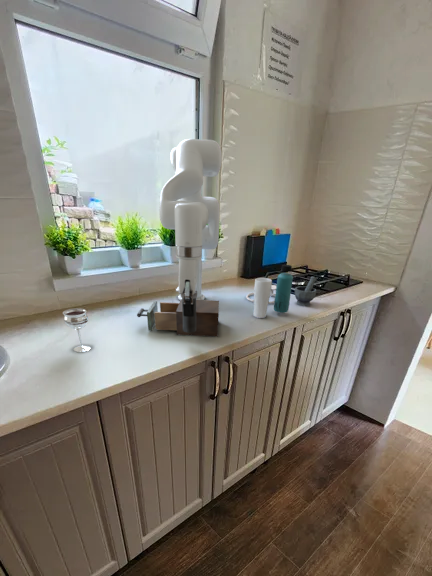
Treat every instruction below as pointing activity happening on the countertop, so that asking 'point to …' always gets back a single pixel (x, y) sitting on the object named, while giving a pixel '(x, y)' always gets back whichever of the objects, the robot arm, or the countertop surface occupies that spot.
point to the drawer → (161, 316)
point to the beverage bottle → (283, 290)
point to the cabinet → (201, 318)
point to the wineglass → (77, 324)
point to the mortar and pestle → (305, 293)
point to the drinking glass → (261, 296)
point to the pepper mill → (189, 322)
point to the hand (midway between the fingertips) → (189, 312)
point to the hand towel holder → (270, 295)
